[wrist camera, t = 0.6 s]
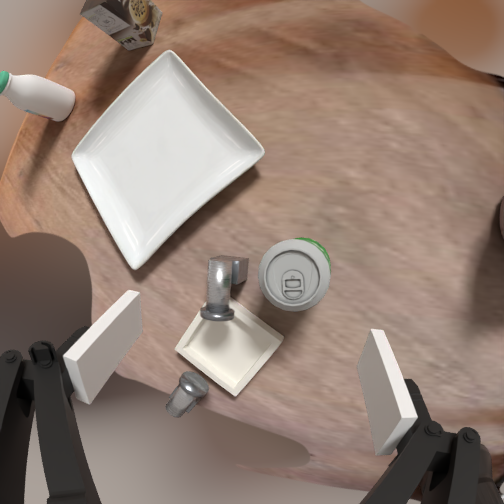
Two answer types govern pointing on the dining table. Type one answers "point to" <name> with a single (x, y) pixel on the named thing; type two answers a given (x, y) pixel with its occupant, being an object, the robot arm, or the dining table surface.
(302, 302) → the soda can
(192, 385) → the shaft
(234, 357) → the tray
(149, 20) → the coffee box
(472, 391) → the dining table surface
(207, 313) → the shaft
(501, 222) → the flowerpot
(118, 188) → the square plate
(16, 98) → the milk bottle
